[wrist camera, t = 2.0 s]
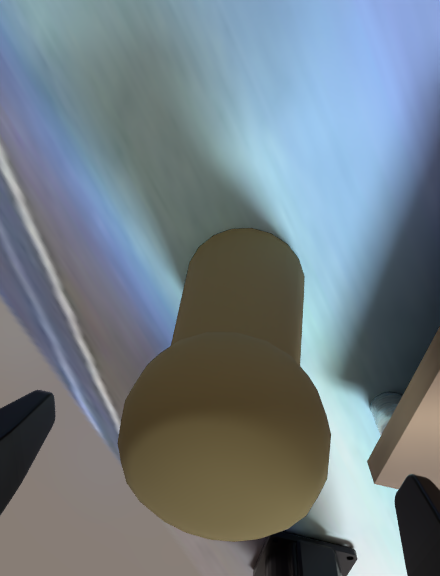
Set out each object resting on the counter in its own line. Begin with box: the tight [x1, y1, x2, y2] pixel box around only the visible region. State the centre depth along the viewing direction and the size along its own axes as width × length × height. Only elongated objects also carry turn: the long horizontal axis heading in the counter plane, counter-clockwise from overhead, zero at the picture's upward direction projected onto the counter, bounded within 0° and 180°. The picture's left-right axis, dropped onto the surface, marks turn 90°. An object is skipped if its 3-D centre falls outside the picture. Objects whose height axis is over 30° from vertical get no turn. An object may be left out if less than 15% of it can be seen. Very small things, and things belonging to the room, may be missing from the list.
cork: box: [118, 228, 331, 542], centre depth 12 cm, size 6×6×11 cm
